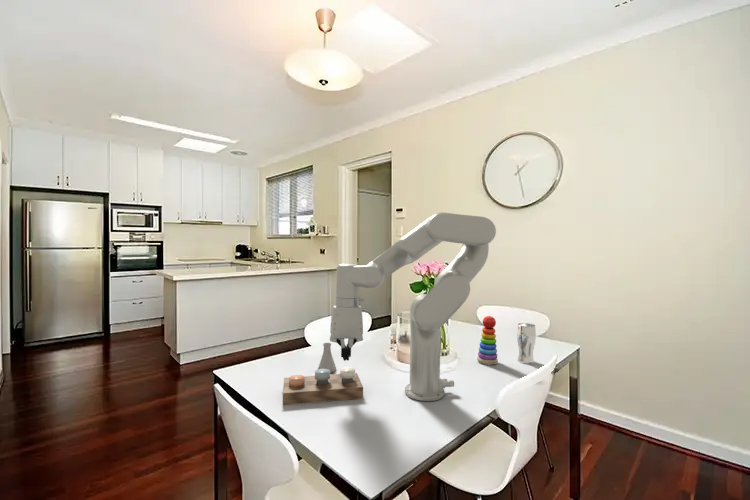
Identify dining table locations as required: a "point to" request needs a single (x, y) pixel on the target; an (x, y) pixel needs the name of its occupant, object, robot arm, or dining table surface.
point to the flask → (327, 359)
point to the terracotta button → (296, 380)
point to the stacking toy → (488, 343)
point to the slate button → (322, 376)
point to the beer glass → (526, 342)
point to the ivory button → (347, 374)
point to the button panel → (322, 390)
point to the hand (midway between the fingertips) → (345, 359)
